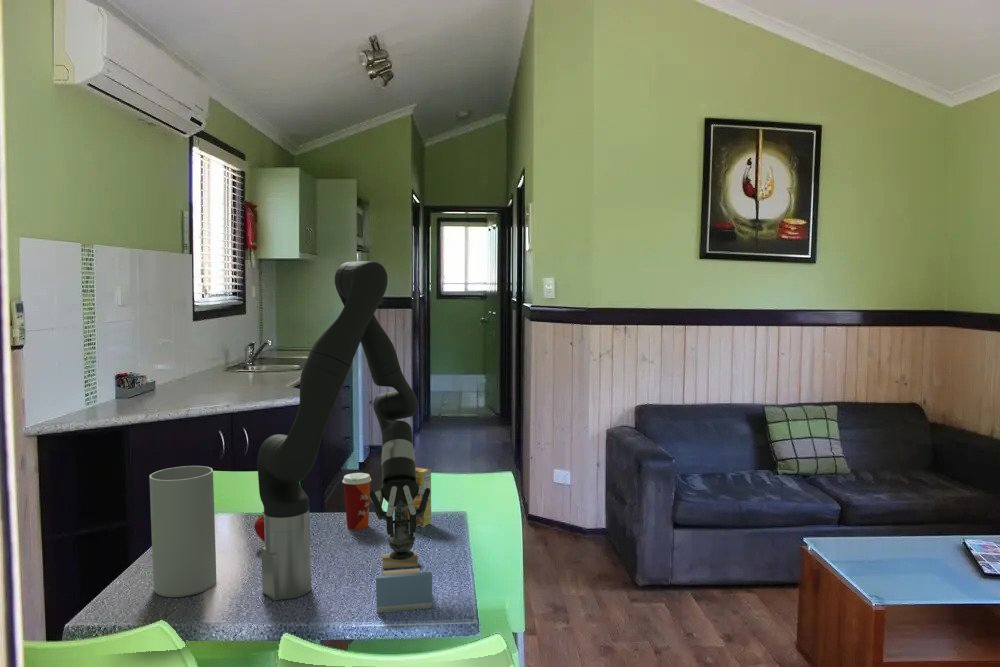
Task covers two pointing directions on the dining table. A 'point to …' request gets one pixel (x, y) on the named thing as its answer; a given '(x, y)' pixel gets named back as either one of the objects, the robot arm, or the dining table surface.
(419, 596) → the bezel holder
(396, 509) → the dark statuette
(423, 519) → the candy box
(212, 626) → the dining table surface
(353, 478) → the paper cup
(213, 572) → the cylinder vase
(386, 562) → the oak gap blocks
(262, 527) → the strawberry
